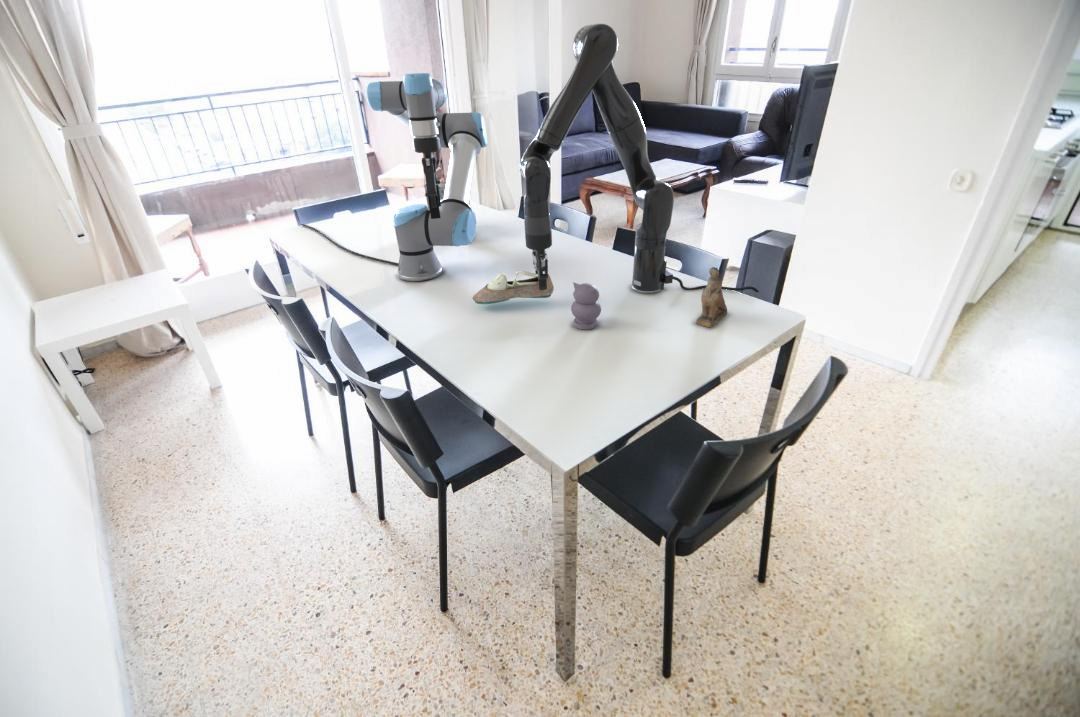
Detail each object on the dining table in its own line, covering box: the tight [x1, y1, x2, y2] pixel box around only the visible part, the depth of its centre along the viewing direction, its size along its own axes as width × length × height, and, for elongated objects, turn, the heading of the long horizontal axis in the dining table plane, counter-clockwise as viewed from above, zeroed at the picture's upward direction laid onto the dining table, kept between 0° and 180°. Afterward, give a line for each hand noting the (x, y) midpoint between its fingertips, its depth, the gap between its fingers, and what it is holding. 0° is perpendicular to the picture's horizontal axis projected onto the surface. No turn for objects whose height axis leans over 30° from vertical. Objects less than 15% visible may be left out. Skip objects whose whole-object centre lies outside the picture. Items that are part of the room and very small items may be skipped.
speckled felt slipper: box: [471, 270, 555, 305], centre depth 148 cm, size 8×25×8 cm, turn 99°
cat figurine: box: [570, 281, 602, 331], centre depth 136 cm, size 8×8×12 cm
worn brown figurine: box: [695, 266, 728, 328], centre depth 135 cm, size 12×6×18 cm, turn 136°
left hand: (436, 212), depth 151 cm, fingers open, 13 cm apart
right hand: (541, 285), depth 149 cm, fingers closed on speckled felt slipper, 6 cm apart
